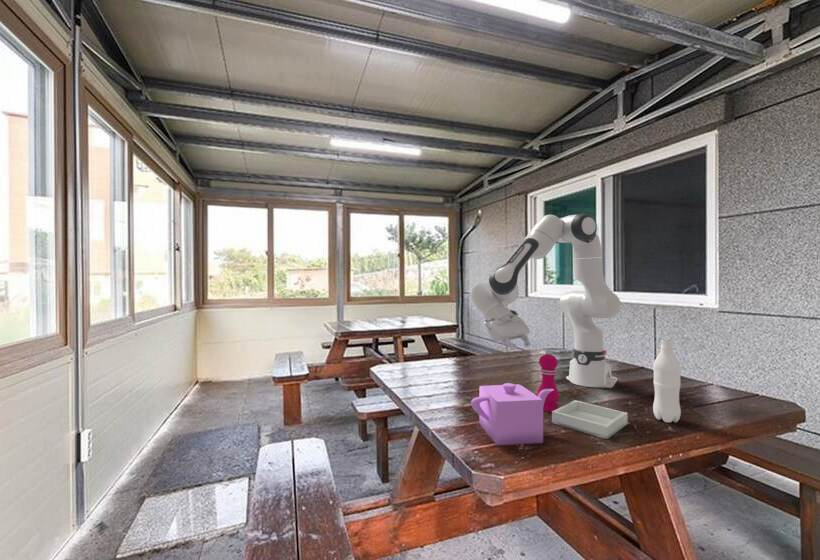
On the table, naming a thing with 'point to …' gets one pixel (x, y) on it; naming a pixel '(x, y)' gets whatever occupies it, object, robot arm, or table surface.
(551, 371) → the pepper mill
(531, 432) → the teapot
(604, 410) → the tray
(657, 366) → the water bottle
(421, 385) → the table surface
